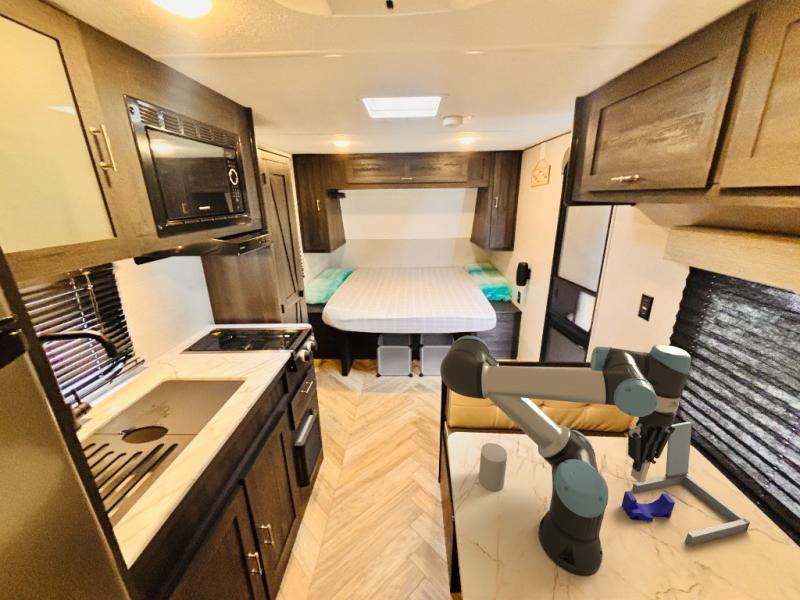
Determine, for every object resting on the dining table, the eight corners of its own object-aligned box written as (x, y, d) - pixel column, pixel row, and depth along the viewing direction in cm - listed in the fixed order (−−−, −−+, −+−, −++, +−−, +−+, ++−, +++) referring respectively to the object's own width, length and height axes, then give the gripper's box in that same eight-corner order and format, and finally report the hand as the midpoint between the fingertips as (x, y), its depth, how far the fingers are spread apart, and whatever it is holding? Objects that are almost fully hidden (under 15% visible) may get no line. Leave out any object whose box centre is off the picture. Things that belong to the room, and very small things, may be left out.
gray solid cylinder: (494, 468, 108) (497, 440, 105) (509, 487, 101) (512, 458, 97) (474, 474, 106) (476, 446, 102) (487, 494, 98) (490, 464, 95)
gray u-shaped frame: (689, 545, 83) (692, 537, 82) (631, 490, 99) (633, 482, 99) (746, 530, 87) (750, 522, 86) (681, 479, 103) (684, 472, 102)
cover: (672, 426, 97) (665, 423, 99) (668, 478, 100) (662, 474, 101) (692, 423, 99) (685, 420, 101) (688, 474, 101) (681, 470, 103)
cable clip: (630, 520, 90) (634, 504, 88) (621, 506, 94) (625, 491, 93) (674, 523, 89) (679, 507, 87) (662, 508, 93) (667, 493, 92)
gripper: (650, 418, 73) (629, 494, 80) (694, 410, 75) (671, 485, 82) (622, 399, 80) (605, 471, 87) (663, 393, 82) (644, 463, 89)
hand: (637, 478), depth 84 cm, fingers closed
